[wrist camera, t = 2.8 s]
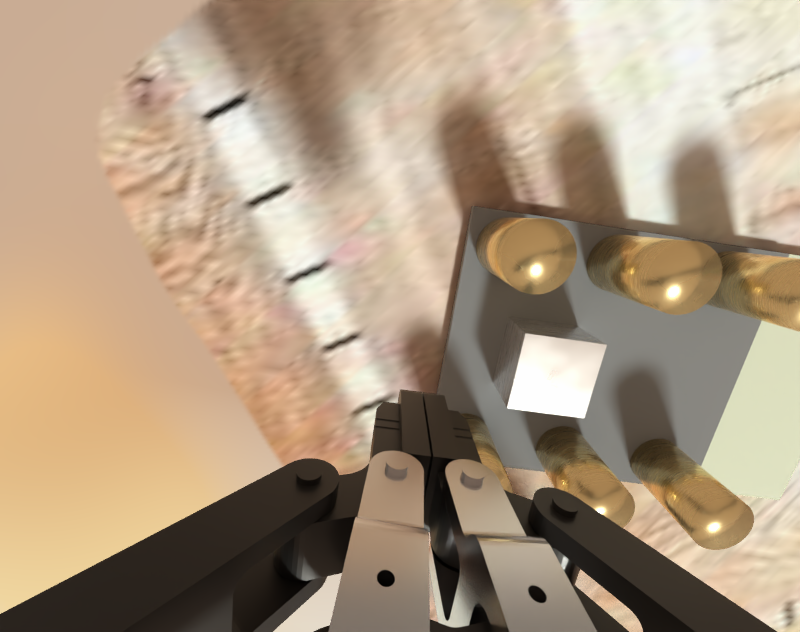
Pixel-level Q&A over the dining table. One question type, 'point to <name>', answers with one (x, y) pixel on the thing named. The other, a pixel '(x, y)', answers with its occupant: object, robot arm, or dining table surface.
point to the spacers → (667, 292)
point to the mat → (635, 371)
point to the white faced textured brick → (547, 367)
